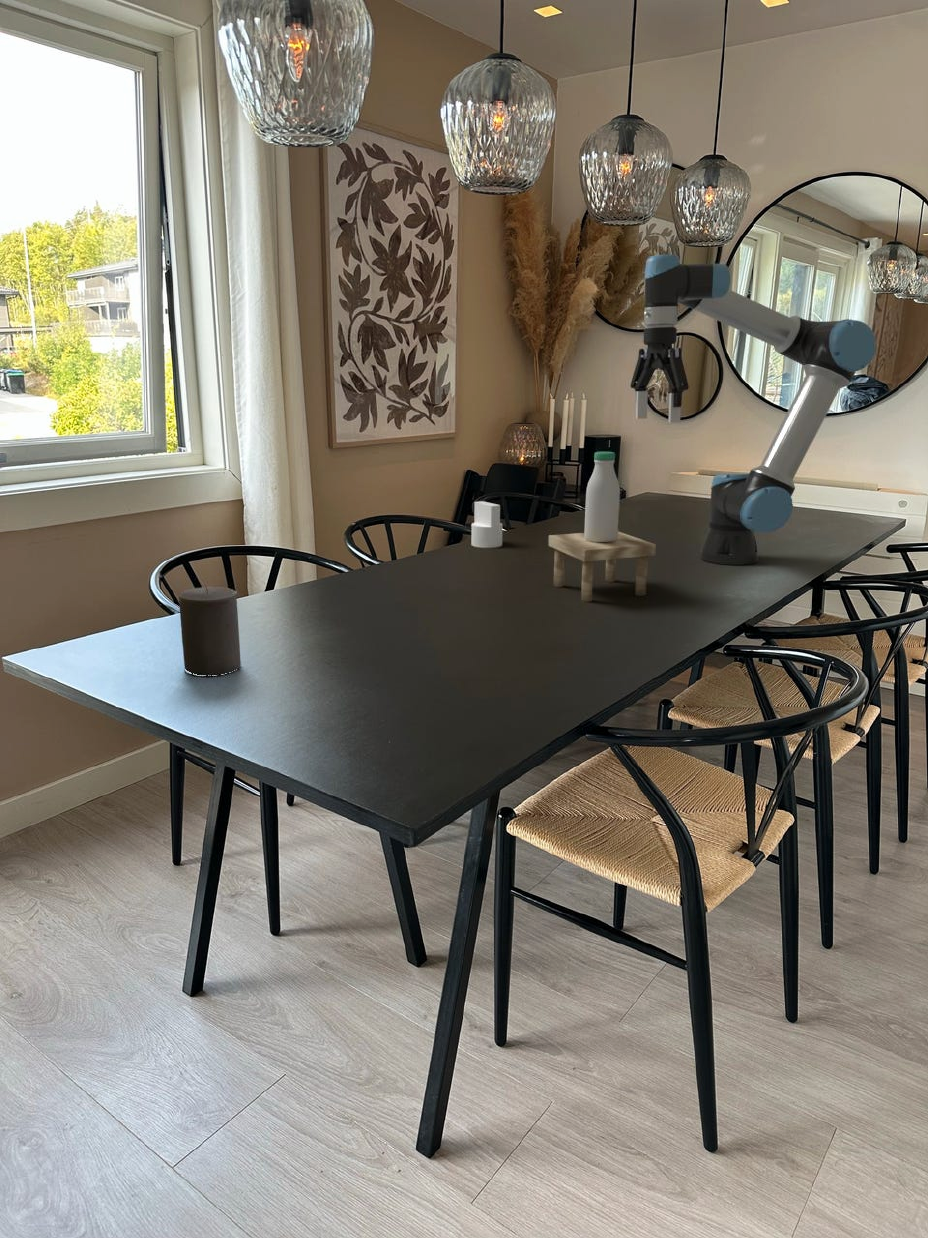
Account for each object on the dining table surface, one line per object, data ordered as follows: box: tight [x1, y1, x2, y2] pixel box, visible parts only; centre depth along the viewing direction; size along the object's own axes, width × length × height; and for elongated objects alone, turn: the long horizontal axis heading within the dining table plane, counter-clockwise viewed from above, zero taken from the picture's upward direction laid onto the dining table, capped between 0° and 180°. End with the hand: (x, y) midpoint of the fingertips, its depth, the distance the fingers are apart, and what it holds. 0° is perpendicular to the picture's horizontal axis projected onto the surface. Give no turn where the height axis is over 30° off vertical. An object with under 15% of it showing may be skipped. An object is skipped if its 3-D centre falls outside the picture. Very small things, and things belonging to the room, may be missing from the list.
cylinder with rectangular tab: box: [470, 500, 503, 549], centre depth 257 cm, size 9×9×12 cm
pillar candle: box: [178, 585, 242, 676], centre depth 155 cm, size 10×10×15 cm
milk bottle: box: [583, 451, 621, 542], centre depth 202 cm, size 8×8×20 cm
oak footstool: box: [548, 530, 657, 603], centre depth 207 cm, size 18×18×12 cm
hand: (657, 420), depth 212 cm, fingers open, 13 cm apart
